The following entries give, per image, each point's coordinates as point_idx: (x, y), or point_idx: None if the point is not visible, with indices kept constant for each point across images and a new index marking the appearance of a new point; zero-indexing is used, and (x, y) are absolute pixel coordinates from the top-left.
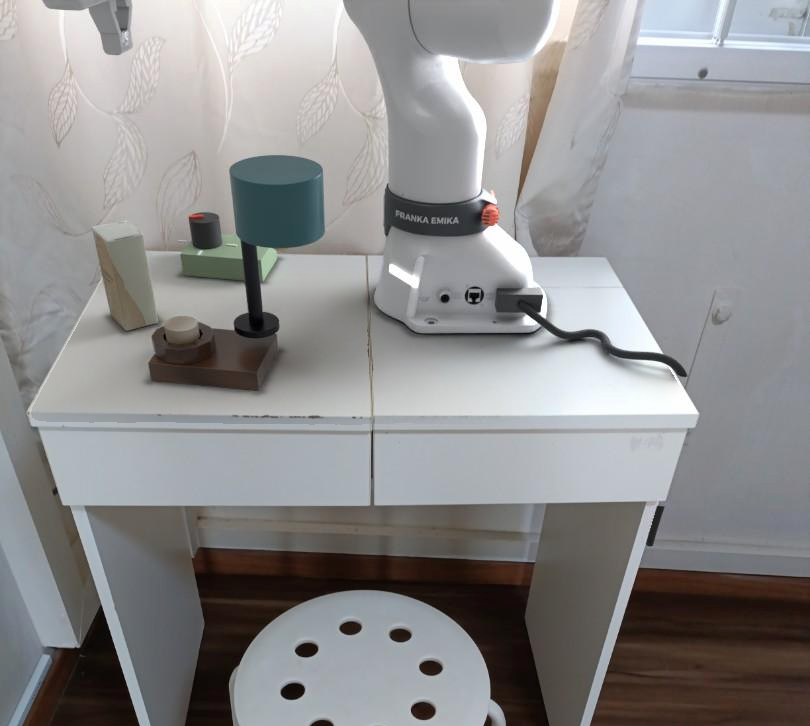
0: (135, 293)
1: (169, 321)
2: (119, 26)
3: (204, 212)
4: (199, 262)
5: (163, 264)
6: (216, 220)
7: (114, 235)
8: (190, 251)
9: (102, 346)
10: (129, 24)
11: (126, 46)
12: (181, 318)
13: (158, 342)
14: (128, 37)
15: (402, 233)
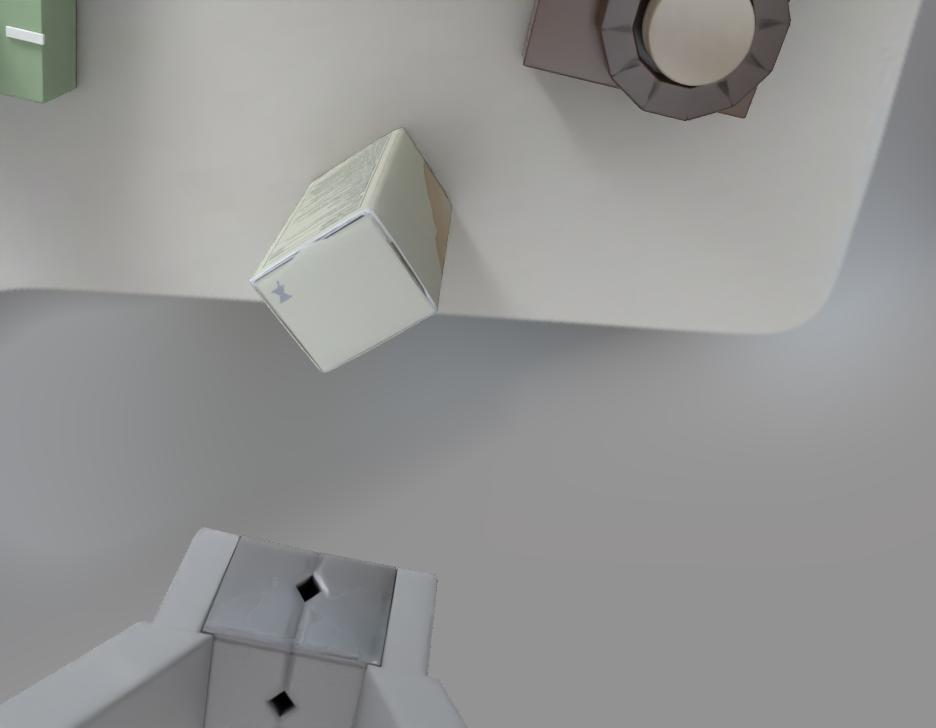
0: (422, 200)
1: (683, 70)
2: (195, 697)
3: None
4: (53, 34)
5: (6, 159)
6: None
7: (395, 297)
8: (16, 69)
9: (530, 253)
10: (149, 644)
11: (320, 567)
12: (668, 33)
13: (732, 95)
14: (246, 591)
15: None
